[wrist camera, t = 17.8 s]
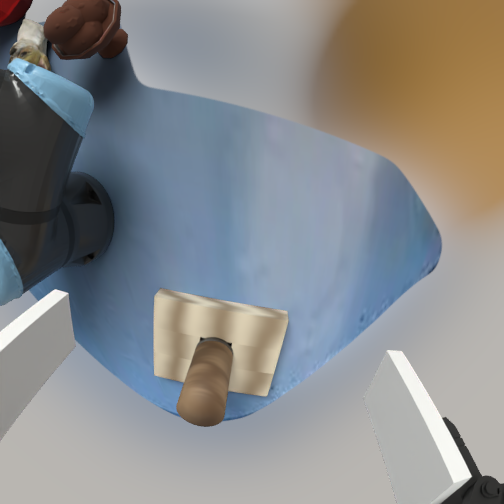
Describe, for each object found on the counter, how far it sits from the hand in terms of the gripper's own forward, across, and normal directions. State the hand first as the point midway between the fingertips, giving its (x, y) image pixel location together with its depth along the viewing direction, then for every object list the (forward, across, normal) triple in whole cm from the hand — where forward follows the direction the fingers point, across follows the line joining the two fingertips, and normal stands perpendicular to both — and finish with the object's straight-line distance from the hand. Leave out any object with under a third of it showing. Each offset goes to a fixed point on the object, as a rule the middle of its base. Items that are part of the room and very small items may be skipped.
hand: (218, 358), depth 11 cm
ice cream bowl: (+32, -26, +24) cm, 48 cm away
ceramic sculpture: (+32, -42, +23) cm, 58 cm away
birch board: (+32, -2, -22) cm, 39 cm away
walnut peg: (+31, -2, -22) cm, 38 cm away
